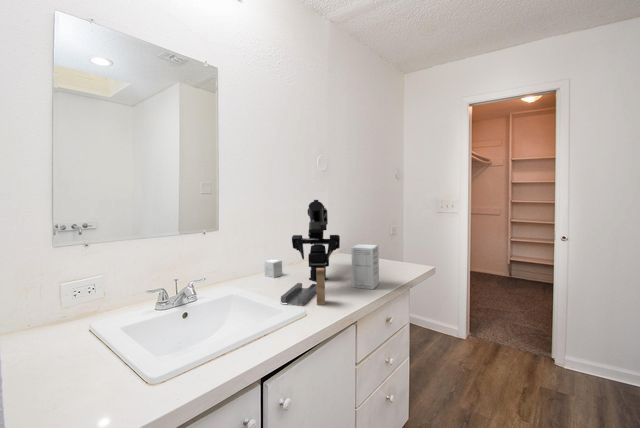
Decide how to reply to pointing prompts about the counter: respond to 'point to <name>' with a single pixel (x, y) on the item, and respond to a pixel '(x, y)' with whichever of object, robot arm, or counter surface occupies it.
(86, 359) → the counter surface
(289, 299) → the bottom track
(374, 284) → the supplement box
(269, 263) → the product box
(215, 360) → the counter surface
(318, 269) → the brown wooden block
